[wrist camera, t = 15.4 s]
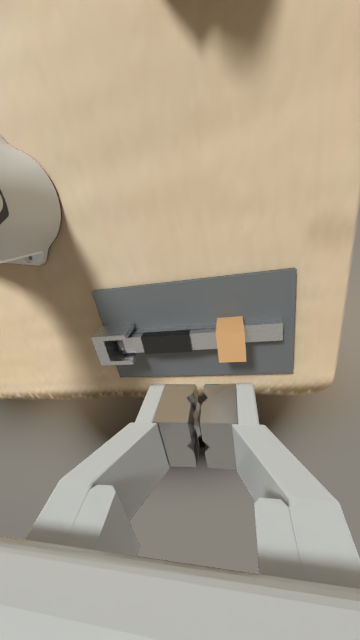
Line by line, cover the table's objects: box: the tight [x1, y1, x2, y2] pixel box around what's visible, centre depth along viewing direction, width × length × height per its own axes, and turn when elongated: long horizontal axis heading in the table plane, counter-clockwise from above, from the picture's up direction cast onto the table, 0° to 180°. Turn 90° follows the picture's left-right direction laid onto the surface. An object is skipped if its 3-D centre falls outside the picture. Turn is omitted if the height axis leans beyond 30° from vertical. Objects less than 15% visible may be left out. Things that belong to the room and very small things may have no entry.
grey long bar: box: [91, 319, 283, 366], centre depth 40 cm, size 30×6×4 cm, turn 100°
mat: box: [92, 268, 297, 377], centre depth 42 cm, size 32×18×1 cm, turn 100°
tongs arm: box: [116, 328, 217, 355], centre depth 40 cm, size 21×3×2 cm, turn 100°
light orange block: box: [216, 316, 246, 363], centre depth 38 cm, size 4×5×5 cm
